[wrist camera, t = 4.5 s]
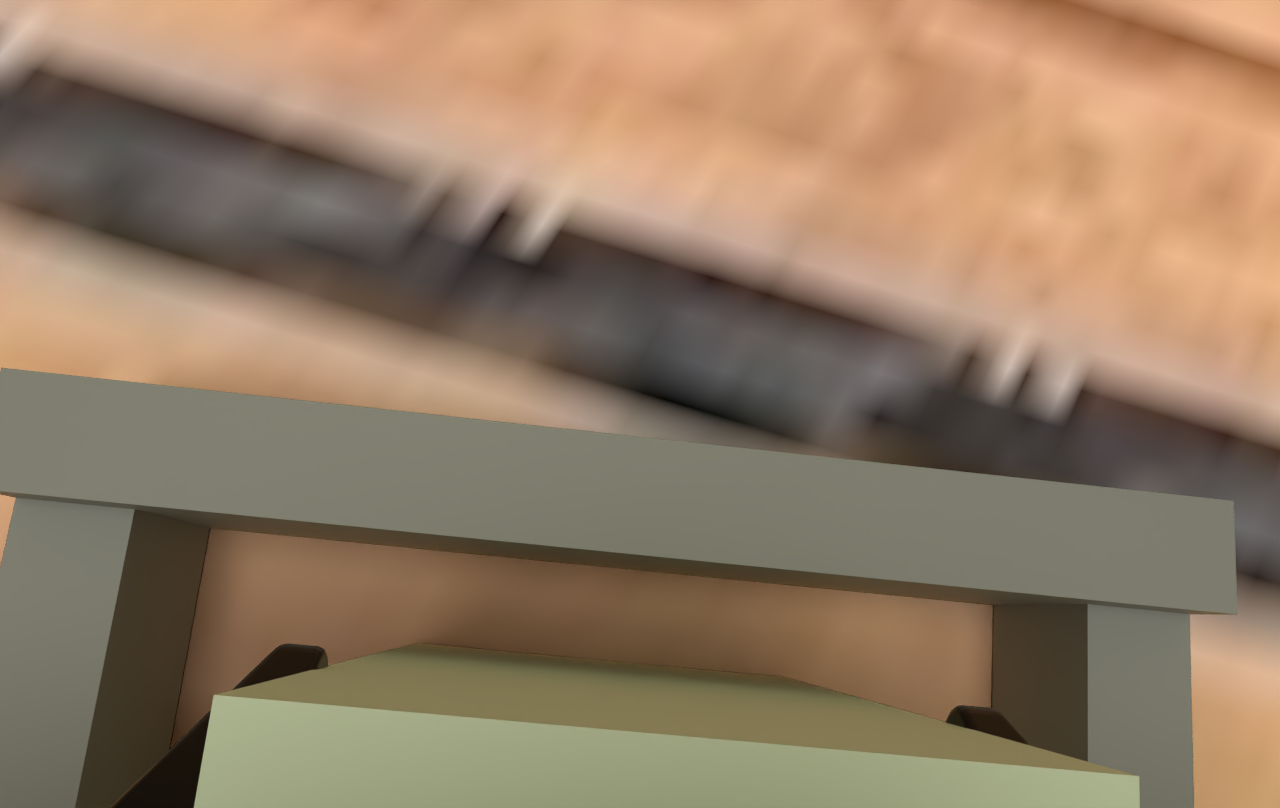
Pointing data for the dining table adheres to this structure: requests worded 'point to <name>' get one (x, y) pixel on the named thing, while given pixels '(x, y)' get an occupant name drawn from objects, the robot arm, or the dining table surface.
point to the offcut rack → (558, 555)
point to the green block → (606, 742)
